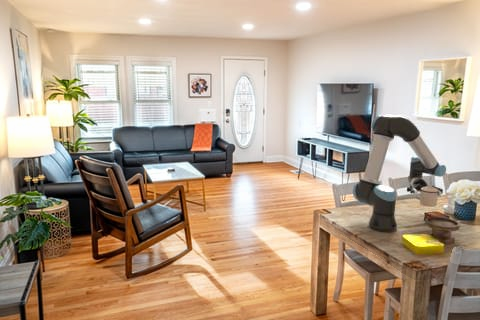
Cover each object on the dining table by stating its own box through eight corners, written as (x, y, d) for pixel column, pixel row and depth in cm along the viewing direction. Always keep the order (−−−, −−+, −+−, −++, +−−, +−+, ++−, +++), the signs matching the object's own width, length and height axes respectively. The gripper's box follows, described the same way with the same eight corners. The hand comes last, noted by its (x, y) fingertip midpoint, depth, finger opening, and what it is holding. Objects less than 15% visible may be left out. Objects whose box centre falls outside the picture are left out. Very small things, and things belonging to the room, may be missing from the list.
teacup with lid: (437, 203, 216) (439, 183, 213) (436, 208, 208) (439, 187, 206) (414, 200, 221) (416, 181, 219) (413, 204, 213) (415, 185, 211)
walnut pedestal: (430, 243, 193) (431, 226, 191) (419, 231, 208) (421, 215, 206) (463, 244, 190) (465, 227, 189) (450, 232, 206) (452, 217, 204)
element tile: (427, 241, 196) (427, 232, 195) (445, 253, 181) (446, 244, 181) (399, 242, 194) (400, 233, 194) (416, 255, 180) (417, 246, 179)
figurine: (442, 213, 237) (444, 190, 234) (443, 209, 245) (445, 187, 242) (455, 215, 233) (457, 192, 231) (456, 211, 241) (458, 188, 238)
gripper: (439, 191, 229) (450, 201, 208) (397, 189, 234) (404, 199, 213) (440, 179, 227) (452, 188, 206) (398, 177, 232) (405, 186, 212)
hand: (428, 194), depth 210 cm, fingers closed on teacup with lid, 12 cm apart
